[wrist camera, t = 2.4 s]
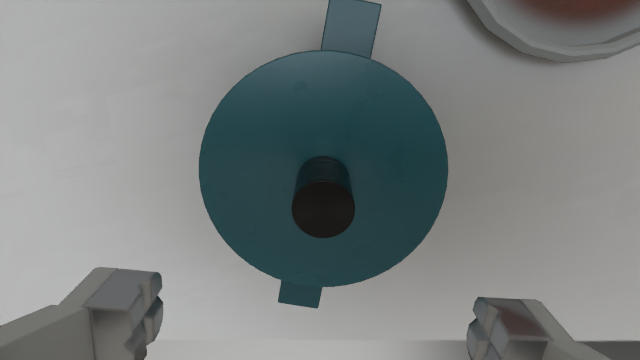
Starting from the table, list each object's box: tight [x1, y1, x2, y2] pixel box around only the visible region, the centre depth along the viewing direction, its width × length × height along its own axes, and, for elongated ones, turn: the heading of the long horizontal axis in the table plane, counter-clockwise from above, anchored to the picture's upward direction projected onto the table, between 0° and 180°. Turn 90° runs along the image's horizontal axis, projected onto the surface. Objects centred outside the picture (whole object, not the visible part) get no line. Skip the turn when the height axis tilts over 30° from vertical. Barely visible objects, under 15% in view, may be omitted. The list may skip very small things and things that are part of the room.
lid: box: [199, 50, 448, 287], centre depth 18 cm, size 12×12×5 cm
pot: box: [278, 0, 381, 308], centre depth 24 cm, size 11×17×8 cm
